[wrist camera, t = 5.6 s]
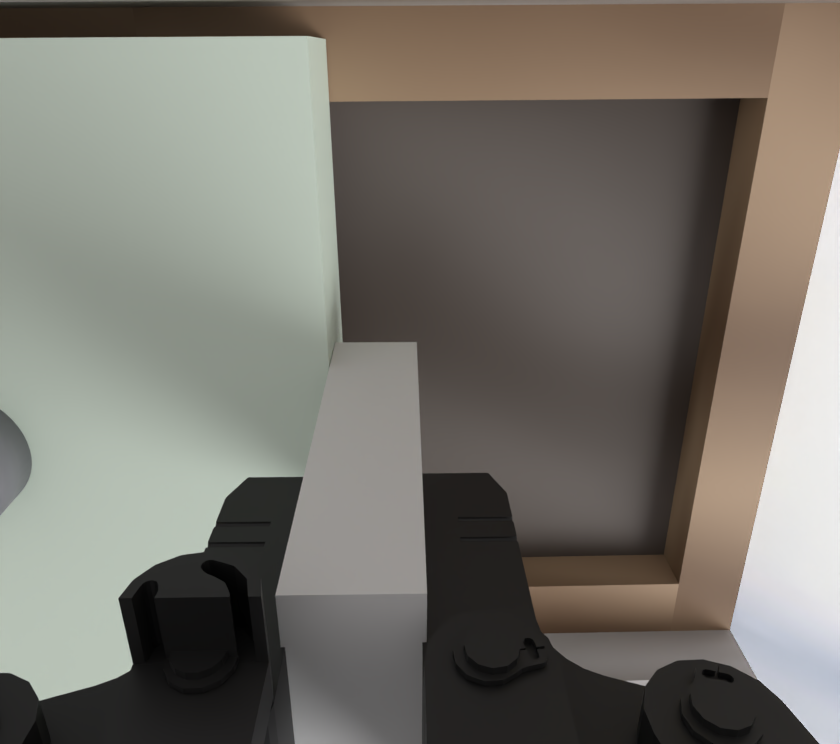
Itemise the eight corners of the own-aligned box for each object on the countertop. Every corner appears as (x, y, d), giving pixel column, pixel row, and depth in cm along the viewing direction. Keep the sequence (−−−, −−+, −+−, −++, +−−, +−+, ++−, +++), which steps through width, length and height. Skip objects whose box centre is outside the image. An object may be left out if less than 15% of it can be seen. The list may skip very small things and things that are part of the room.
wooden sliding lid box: (695, 644, 20) (741, 737, 17) (-276, 663, 20) (-386, 763, 17) (851, -120, 13) (974, -167, 10) (-707, -113, 12) (-1030, -162, 9)
